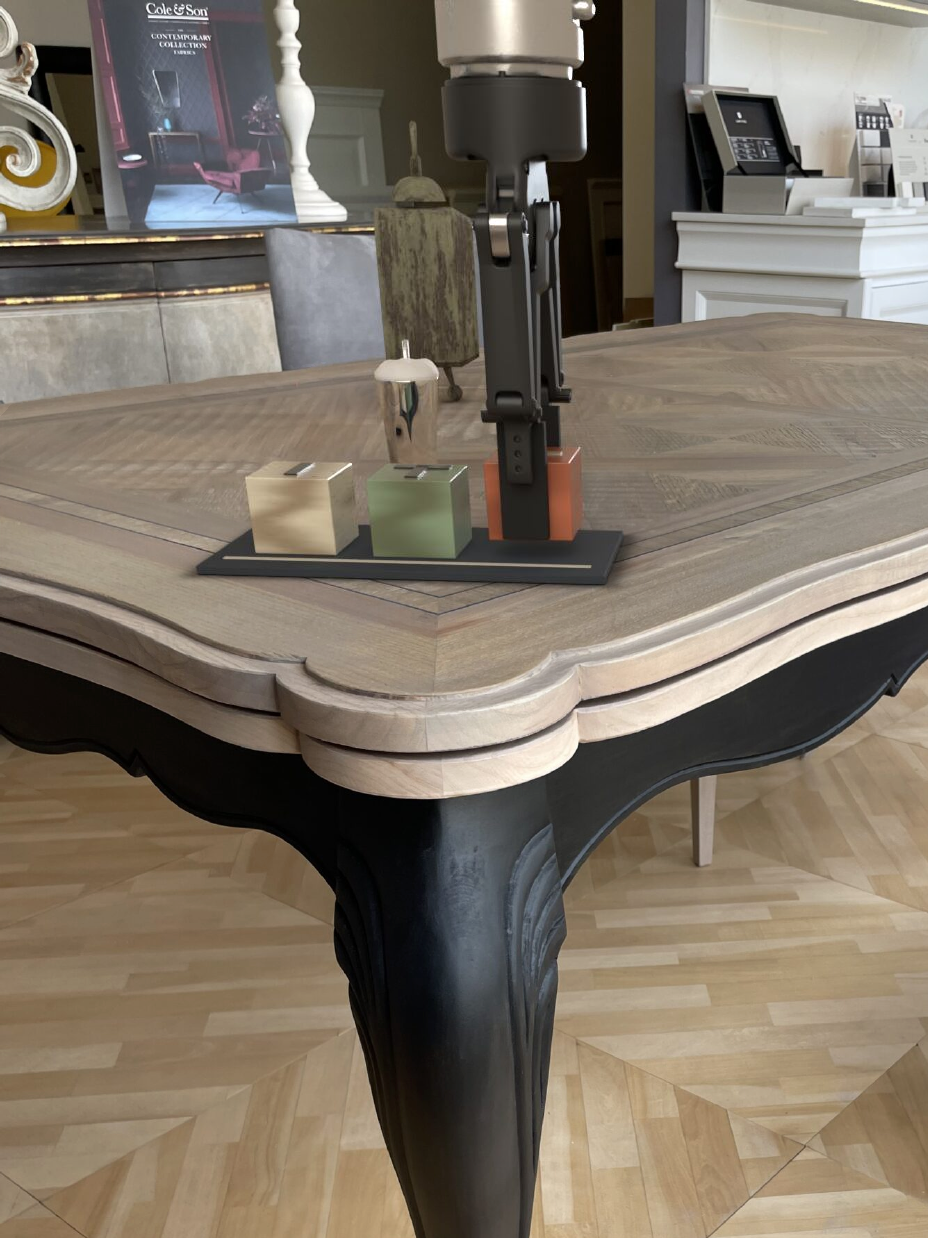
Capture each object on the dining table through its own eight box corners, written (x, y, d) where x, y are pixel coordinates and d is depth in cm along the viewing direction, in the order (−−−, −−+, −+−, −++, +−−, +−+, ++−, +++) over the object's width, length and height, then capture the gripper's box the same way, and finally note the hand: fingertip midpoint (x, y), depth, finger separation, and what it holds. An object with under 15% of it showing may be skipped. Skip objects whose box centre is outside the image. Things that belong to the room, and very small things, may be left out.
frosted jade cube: (373, 557, 78) (365, 478, 76) (394, 536, 83) (387, 461, 80) (455, 559, 78) (450, 479, 76) (472, 538, 82) (467, 463, 80)
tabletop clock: (393, 391, 141) (370, 123, 129) (478, 390, 142) (463, 124, 130) (390, 413, 128) (364, 118, 116) (483, 411, 129) (466, 119, 117)
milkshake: (447, 479, 100) (437, 339, 96) (446, 494, 96) (436, 348, 91) (387, 481, 100) (374, 340, 95) (383, 495, 95) (369, 348, 90)
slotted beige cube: (255, 554, 79) (243, 475, 76) (282, 534, 83) (272, 459, 81) (336, 555, 78) (327, 477, 76) (359, 535, 83) (351, 460, 81)
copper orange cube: (489, 540, 77) (483, 460, 75) (504, 521, 82) (498, 444, 79) (572, 541, 77) (569, 460, 75) (583, 521, 81) (580, 444, 79)
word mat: (196, 574, 76) (195, 565, 76) (261, 529, 86) (259, 521, 86) (604, 584, 75) (604, 575, 75) (623, 538, 85) (623, 529, 84)
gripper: (559, 61, 60) (576, 566, 71) (603, 85, 76) (611, 495, 87) (398, 62, 60) (440, 564, 72) (475, 86, 76) (500, 494, 87)
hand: (534, 525), depth 79 cm, fingers closed on copper orange cube, 5 cm apart
